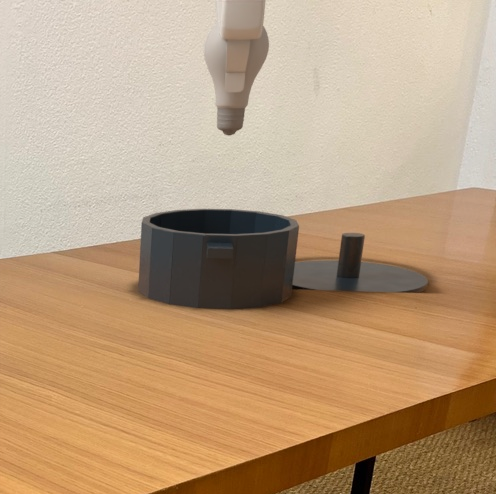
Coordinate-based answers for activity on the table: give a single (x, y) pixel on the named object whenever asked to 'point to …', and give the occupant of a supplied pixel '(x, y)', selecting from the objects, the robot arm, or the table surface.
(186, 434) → the table surface
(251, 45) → the lightbulb
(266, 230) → the pot
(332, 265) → the pot lid
